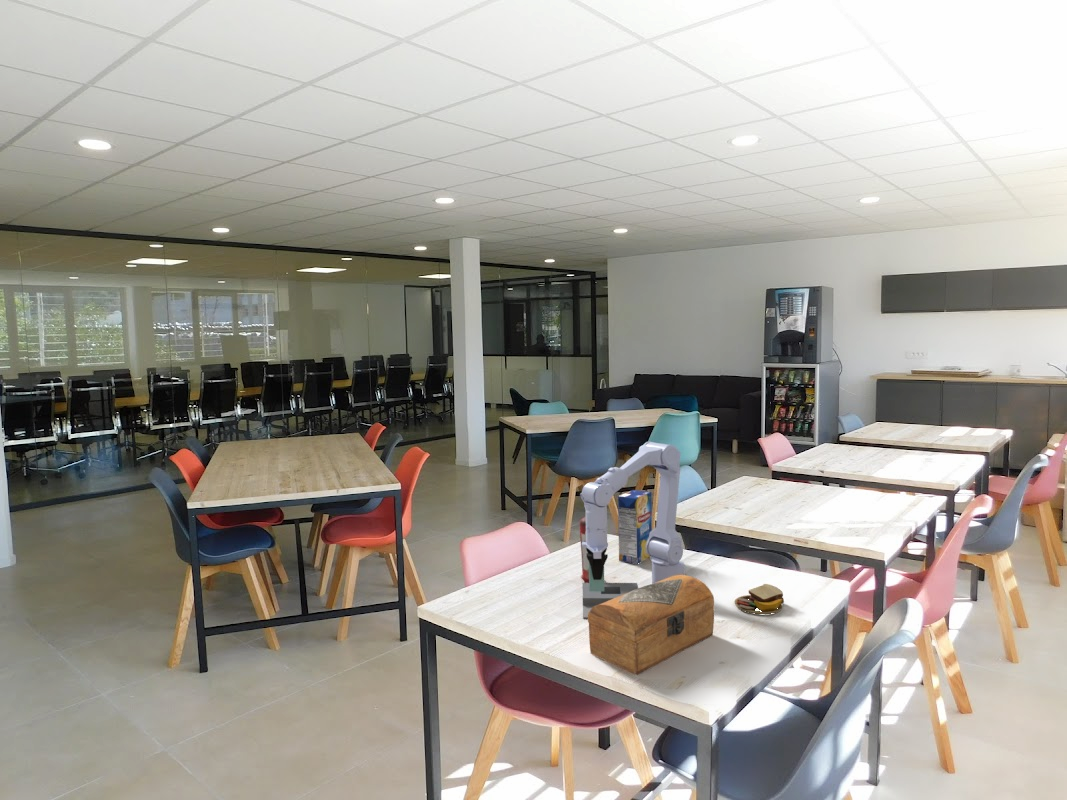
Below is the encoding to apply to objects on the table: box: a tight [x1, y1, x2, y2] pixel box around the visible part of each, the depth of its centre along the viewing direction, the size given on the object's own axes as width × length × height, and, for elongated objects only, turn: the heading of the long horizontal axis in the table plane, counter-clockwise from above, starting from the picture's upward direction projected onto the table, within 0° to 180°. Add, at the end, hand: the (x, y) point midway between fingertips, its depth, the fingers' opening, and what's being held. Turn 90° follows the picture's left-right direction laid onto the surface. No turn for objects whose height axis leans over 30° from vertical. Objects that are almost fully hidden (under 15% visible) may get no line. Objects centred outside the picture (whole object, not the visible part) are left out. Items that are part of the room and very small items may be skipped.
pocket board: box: [582, 582, 639, 606], centre depth 197 cm, size 16×12×2 cm
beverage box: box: [617, 489, 653, 565], centre depth 231 cm, size 7×11×22 cm, turn 145°
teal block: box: [589, 563, 605, 591], centre depth 186 cm, size 4×4×8 cm
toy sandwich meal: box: [733, 583, 785, 615], centre depth 188 cm, size 12×14×5 cm
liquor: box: [578, 516, 589, 583], centre depth 210 cm, size 7×7×28 cm
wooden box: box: [587, 574, 715, 676], centre depth 167 cm, size 30×16×14 cm, turn 130°
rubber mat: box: [582, 604, 594, 620], centre depth 187 cm, size 8×8×1 cm
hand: (597, 576), depth 186 cm, fingers closed on teal block, 4 cm apart
